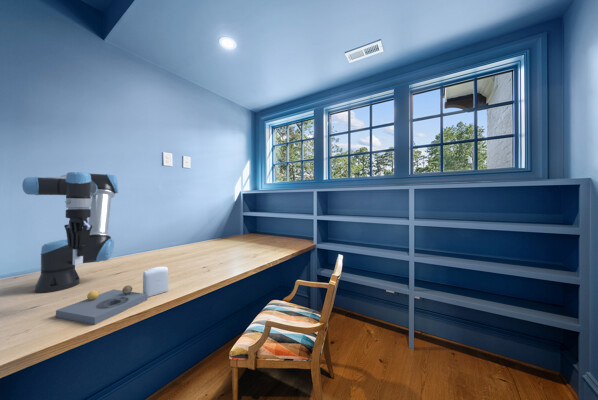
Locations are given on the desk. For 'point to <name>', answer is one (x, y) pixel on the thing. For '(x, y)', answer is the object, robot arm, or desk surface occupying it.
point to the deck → (101, 306)
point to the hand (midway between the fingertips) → (77, 263)
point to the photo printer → (155, 281)
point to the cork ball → (127, 289)
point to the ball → (92, 295)
